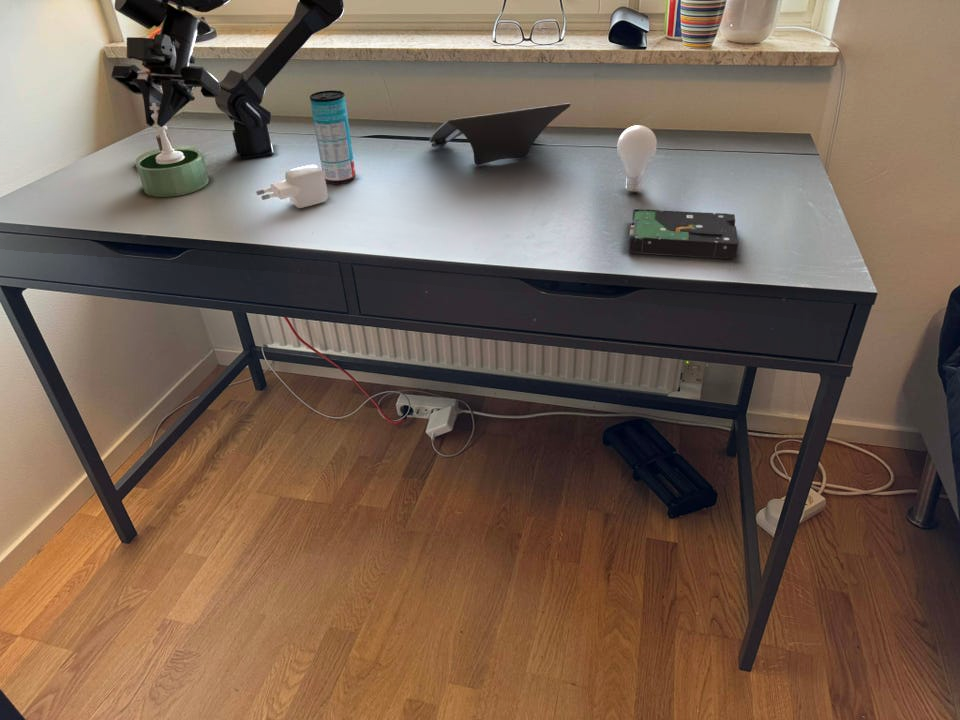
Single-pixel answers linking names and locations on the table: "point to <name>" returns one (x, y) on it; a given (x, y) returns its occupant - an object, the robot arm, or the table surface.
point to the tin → (173, 174)
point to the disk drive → (683, 233)
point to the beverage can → (333, 136)
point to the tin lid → (161, 147)
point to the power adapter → (300, 187)
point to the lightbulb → (636, 154)
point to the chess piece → (165, 143)
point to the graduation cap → (499, 132)
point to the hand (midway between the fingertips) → (154, 125)
